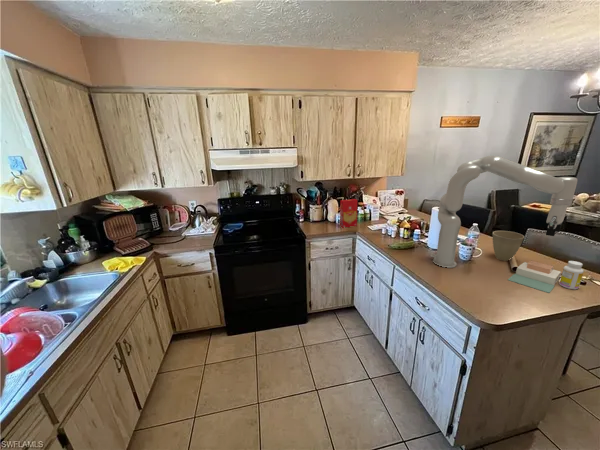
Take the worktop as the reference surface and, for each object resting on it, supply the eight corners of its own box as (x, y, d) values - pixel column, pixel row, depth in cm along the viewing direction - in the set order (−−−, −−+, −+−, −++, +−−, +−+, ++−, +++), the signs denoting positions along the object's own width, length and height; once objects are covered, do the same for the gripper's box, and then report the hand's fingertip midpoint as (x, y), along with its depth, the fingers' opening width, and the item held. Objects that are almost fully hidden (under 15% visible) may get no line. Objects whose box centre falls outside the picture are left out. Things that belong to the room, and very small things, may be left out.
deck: (515, 274, 136) (517, 267, 135) (522, 268, 142) (524, 262, 141) (553, 285, 124) (555, 278, 123) (559, 278, 130) (561, 271, 129)
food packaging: (342, 228, 227) (343, 201, 219) (340, 226, 232) (340, 200, 224) (356, 226, 231) (357, 199, 224) (353, 224, 236) (354, 198, 229)
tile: (526, 267, 134) (527, 263, 134) (530, 264, 138) (531, 260, 137) (549, 274, 127) (550, 269, 126) (552, 270, 130) (553, 266, 130)
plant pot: (487, 252, 165) (492, 229, 160) (516, 256, 157) (522, 232, 152) (488, 260, 153) (493, 236, 149) (520, 265, 145) (526, 240, 140)
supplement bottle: (575, 284, 124) (582, 261, 120) (580, 291, 119) (588, 267, 115) (556, 281, 127) (563, 258, 124) (561, 287, 122) (568, 264, 118)
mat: (507, 280, 131) (507, 279, 131) (514, 274, 136) (514, 273, 136) (549, 293, 118) (549, 292, 118) (554, 286, 123) (554, 285, 123)
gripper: (555, 198, 133) (547, 228, 138) (545, 203, 124) (537, 235, 129) (575, 200, 128) (566, 231, 132) (567, 205, 118) (557, 239, 123)
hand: (552, 233), depth 131 cm, fingers open, 9 cm apart
